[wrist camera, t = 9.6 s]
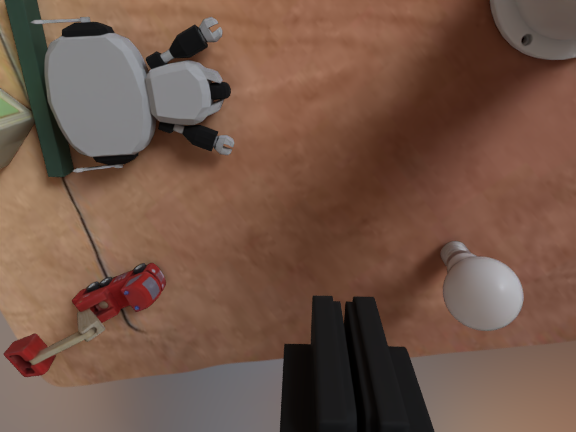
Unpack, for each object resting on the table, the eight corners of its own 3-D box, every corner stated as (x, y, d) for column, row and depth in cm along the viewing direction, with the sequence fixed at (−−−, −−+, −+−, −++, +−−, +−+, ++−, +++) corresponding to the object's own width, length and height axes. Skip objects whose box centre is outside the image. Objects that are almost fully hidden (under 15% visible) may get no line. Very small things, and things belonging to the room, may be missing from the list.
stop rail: (33, -15, 34) (18, -17, 32) (74, 170, 40) (63, 177, 39) (16, -15, 34) (0, -17, 32) (59, 170, 40) (48, 177, 39)
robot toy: (225, 11, 35) (48, 21, 35) (219, 8, 31) (18, 19, 30) (239, 151, 40) (85, 161, 40) (236, 165, 36) (64, 176, 36)
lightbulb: (422, 279, 44) (457, 351, 34) (418, 227, 42) (456, 289, 32) (482, 270, 44) (536, 341, 34) (482, 217, 41) (541, 277, 31)
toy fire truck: (171, 281, 45) (141, 341, 37) (71, 318, 48) (19, 383, 39) (156, 257, 44) (120, 313, 35) (54, 296, 47) (-4, 358, 38)
